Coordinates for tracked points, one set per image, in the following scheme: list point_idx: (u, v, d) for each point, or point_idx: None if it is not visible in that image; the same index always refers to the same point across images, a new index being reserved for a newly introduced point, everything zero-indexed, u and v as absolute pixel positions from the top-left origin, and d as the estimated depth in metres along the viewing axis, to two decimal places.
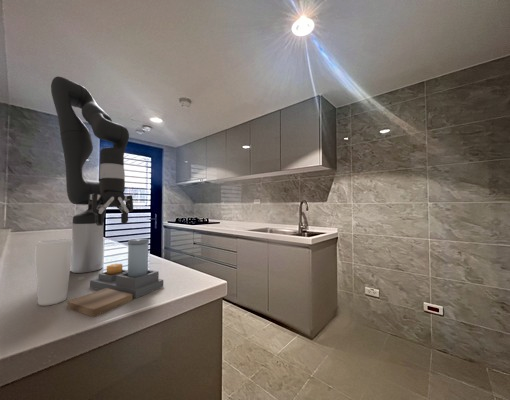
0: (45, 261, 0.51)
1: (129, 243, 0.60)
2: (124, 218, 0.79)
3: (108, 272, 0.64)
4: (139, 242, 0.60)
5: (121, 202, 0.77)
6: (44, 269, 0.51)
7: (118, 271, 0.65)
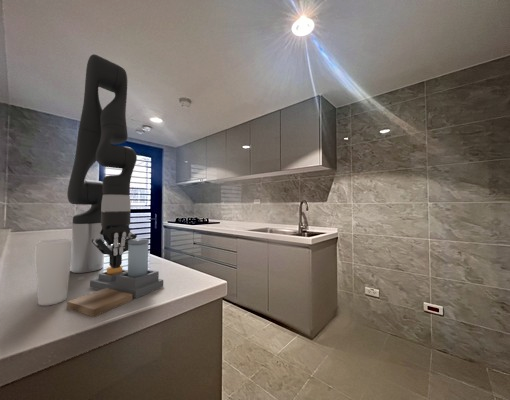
0: (45, 261, 0.51)
1: (129, 243, 0.60)
2: None
3: (108, 274, 0.64)
4: (139, 242, 0.60)
5: (122, 238, 0.66)
6: (44, 269, 0.51)
7: (118, 273, 0.65)
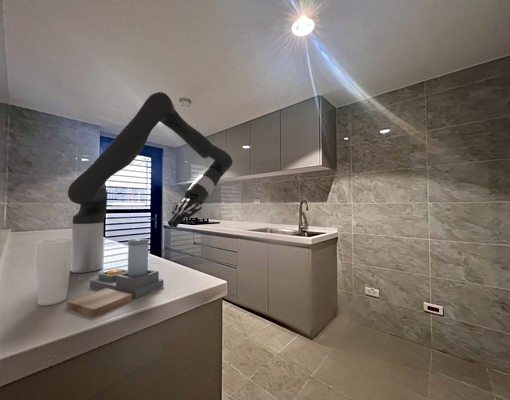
0: (45, 261, 0.51)
1: (129, 243, 0.60)
2: None
3: None
4: (139, 242, 0.60)
5: None
6: (44, 269, 0.51)
7: None
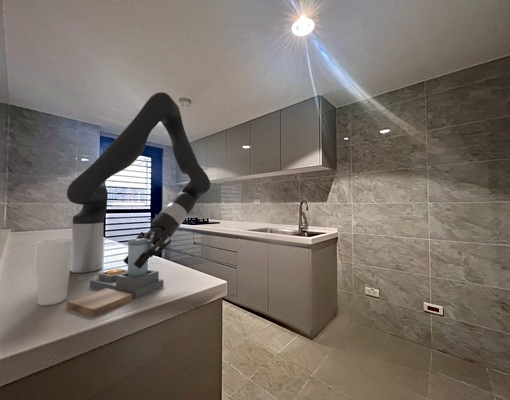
0: (45, 261, 0.51)
1: (129, 243, 0.60)
2: None
3: None
4: (139, 242, 0.60)
5: None
6: (44, 269, 0.51)
7: None
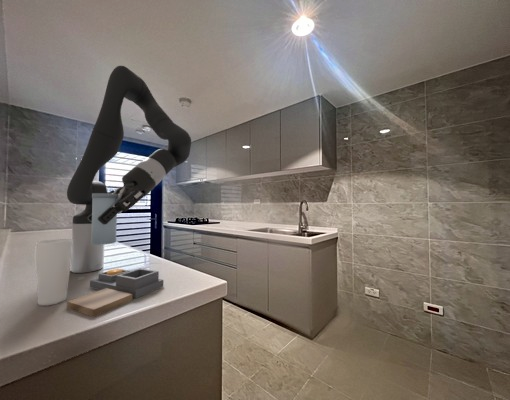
0: (45, 261, 0.51)
1: (93, 196, 0.51)
2: None
3: None
4: (104, 195, 0.51)
5: None
6: (44, 269, 0.51)
7: None
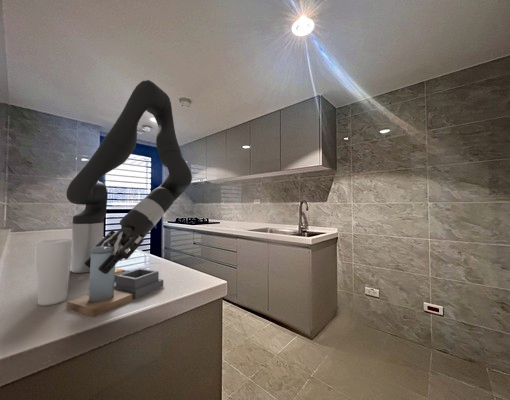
0: (45, 261, 0.51)
1: (91, 251, 0.51)
2: None
3: None
4: (103, 250, 0.51)
5: None
6: (44, 269, 0.51)
7: None
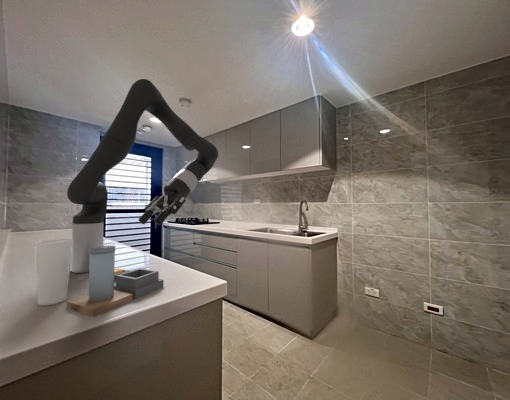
0: (45, 261, 0.51)
1: (90, 252, 0.51)
2: (147, 219, 0.67)
3: None
4: (102, 251, 0.51)
5: None
6: (44, 269, 0.51)
7: None
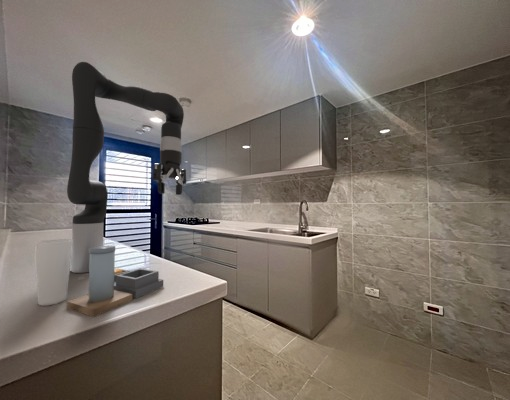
0: (45, 261, 0.51)
1: (90, 252, 0.51)
2: (179, 189, 0.85)
3: None
4: (102, 251, 0.51)
5: (178, 174, 0.83)
6: (44, 269, 0.51)
7: None
